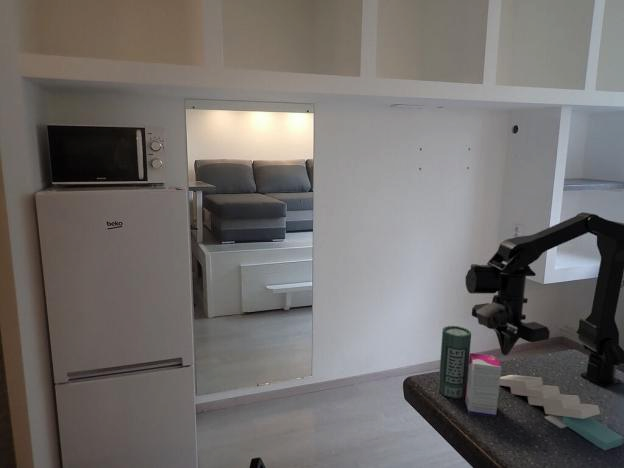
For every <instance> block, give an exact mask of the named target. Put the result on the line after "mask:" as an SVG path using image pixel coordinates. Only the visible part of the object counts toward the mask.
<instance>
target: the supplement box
mask: <svg viewBox="0 0 624 468" xmlns="http://www.w3.org/2000/svg"><path fill="white" fill-rule="evenodd" d="M501 375H502V365H501V364H500V361H499V359H498V358H497V356H496V355H490V354H488V355H487V354H482V353H481V354H479V353H473V352H472V353H470V354H469V366H468V378H467V387H466V395H465V397H464V402H465V405H466V411H467V414H471V415H479V416H486V417H495V418H496V417H497V412H498V411H497V410H498V401H499V391H500V386H501V385H500V377H502V376H501Z"/></svg>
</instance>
